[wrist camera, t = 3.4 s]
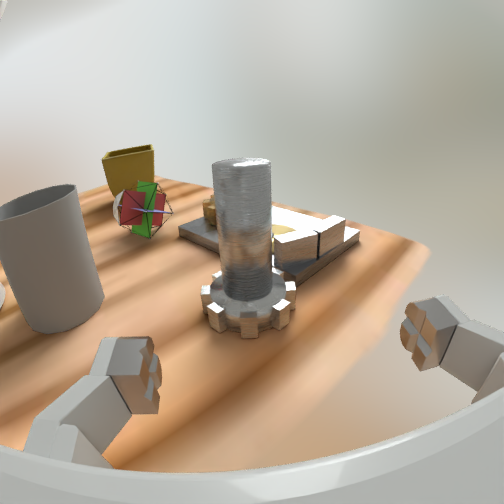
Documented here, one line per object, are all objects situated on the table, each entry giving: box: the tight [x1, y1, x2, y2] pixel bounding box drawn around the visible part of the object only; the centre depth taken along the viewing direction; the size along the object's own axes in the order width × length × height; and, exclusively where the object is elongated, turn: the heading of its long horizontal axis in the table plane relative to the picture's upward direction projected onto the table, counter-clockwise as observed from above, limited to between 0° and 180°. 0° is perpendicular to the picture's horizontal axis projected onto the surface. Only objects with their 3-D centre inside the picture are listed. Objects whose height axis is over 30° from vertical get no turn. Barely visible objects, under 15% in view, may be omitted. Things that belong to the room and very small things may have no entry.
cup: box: [0, 184, 105, 334], centre depth 22 cm, size 8×8×10 cm
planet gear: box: [201, 158, 296, 338], centre depth 21 cm, size 7×7×11 cm
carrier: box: [178, 206, 360, 288], centre depth 34 cm, size 12×17×4 cm
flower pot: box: [102, 145, 154, 205], centre depth 50 cm, size 9×9×9 cm
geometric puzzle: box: [113, 180, 174, 239], centre depth 37 cm, size 7×7×8 cm
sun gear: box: [203, 195, 217, 225], centre depth 38 cm, size 8×8×4 cm
